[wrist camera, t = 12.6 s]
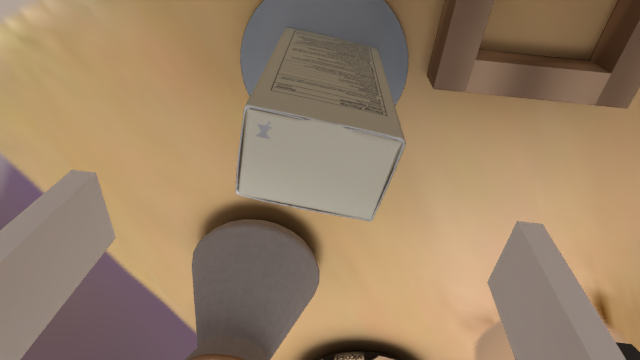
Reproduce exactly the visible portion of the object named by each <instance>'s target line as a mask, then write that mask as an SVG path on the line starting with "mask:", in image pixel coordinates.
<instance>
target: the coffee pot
mask: <svg viewBox="0 0 640 360" xmlns="http://www.w3.org/2000/svg"><path fill="white" fill-rule="evenodd" d="M192 274H193V288H194V302H195V315H196V329H197V342H198V348H197V349H196V350H195V351H194V352H193V353H192V354H191V355H190V356H189V357H187V359H185V360H270V359H271V358H272V356H273V355H274V353H275V352H276V350H277V349H278V347H279V346H280V344H281V343H282V341H283V340H284V338H285V337H286V336H287V334H288V333H289V331H290V330H291V328H292V327H293V325H294V324H295V322H296V321H297V319H298V318H299V316H300V315H301V313H302V312H303V310H304V309H305V308H306V306H307V305H308V303H309V302H310V300H311V299H312V297H313V296H314V294H315V291H316V289H317V287H318V284H319V267H318V264H317V262H316V259H315V256H314V254H313V252H312V250H311V249H310V248H309V247H308V245H307V244H306V243H305V241H304V240H303V239H301V238H300V237H299V236H298V235H296V234H295V233H294V232H293V231H291V230H289V229H287V228H285V227H283V226H281V225H279V224H276V223H273V222H269V221H265V220H253V219H243V220H237V221H230V222H228V223H225V224H223V225H221V226H218V227H216V228H215V229H213V230H212V231H210V232H209V233H208V234H207V235H206V236H205V237H203V238H202V239H201V240H200V241H199V243H198V245H197V247H196V248H195V250H194V252H193V260H192Z"/></svg>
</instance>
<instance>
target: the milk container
mask: <svg viewBox="0 0 640 360" xmlns="http://www.w3.org/2000/svg"><path fill="white" fill-rule="evenodd" d="M317 360H400V359H398V358H394V357H390V356H387V355H384V354H381V353H376V352H364V351H350V352H341V353H334V354H331V355H328V356H326V357H323V358H320V359H317Z"/></svg>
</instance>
